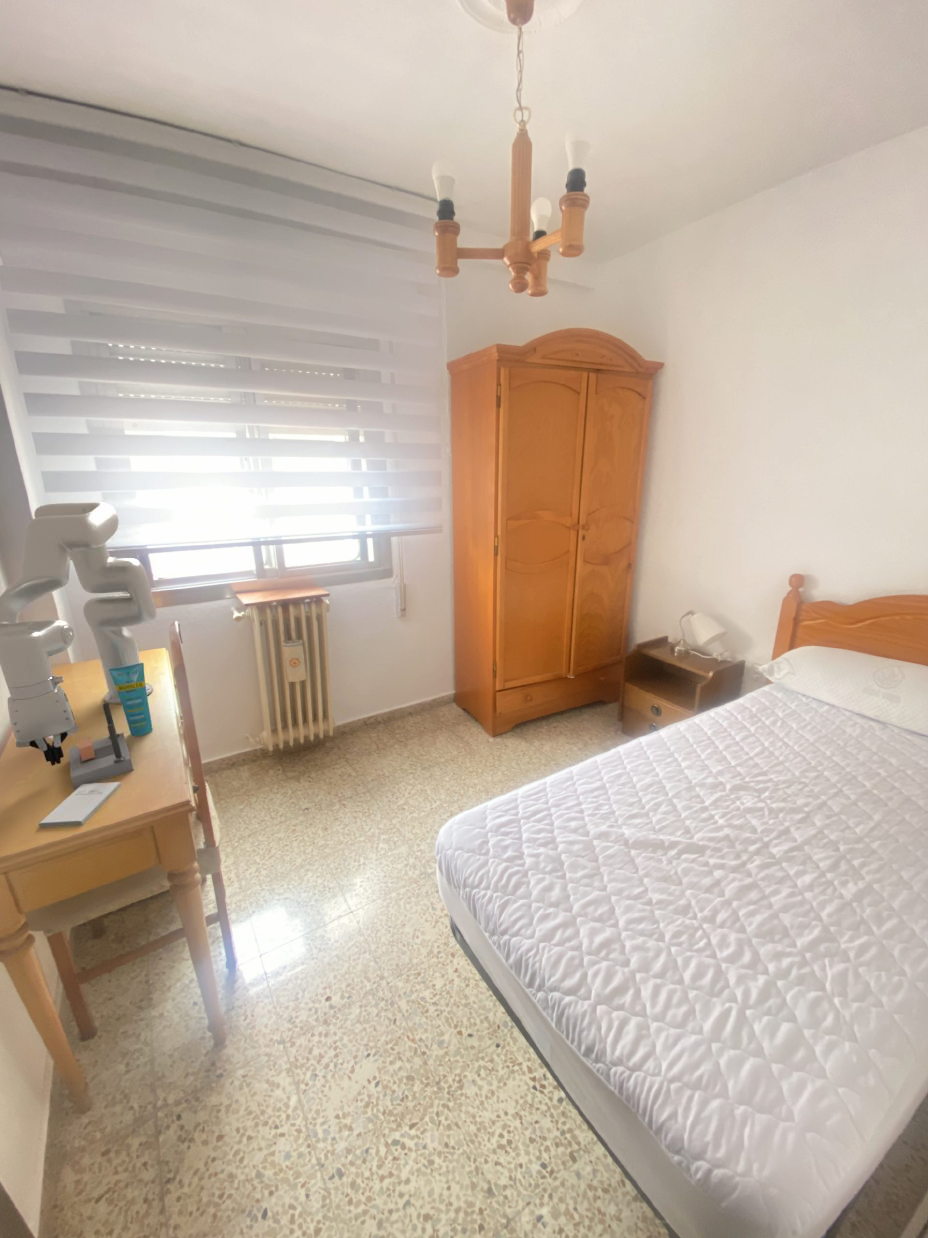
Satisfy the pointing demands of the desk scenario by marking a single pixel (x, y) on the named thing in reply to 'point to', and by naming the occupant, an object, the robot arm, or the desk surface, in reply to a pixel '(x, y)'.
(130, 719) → the tube
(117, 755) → the cord front
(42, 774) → the desk surface
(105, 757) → the grey switch base
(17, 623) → the robot arm
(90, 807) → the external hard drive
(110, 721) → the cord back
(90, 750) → the block
